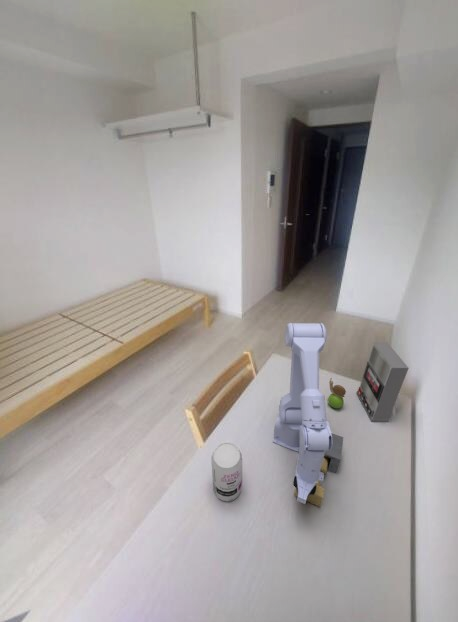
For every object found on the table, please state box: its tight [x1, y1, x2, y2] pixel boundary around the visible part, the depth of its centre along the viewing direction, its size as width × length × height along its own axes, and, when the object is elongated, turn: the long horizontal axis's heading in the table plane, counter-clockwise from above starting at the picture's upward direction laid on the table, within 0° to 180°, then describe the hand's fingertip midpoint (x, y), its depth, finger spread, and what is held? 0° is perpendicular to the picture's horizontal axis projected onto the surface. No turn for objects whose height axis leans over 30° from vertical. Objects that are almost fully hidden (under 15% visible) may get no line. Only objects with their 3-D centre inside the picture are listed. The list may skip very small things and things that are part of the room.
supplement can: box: [210, 442, 243, 502], centre depth 74 cm, size 8×8×15 cm
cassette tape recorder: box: [356, 342, 410, 423], centre depth 96 cm, size 14×6×25 cm, turn 178°
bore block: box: [324, 432, 344, 475], centre depth 84 cm, size 10×8×7 cm
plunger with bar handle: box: [294, 456, 329, 508], centre depth 79 cm, size 7×15×5 cm, turn 155°
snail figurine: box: [327, 377, 347, 409], centre depth 100 cm, size 5×6×12 cm
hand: (303, 490), depth 74 cm, fingers closed on plunger with bar handle, 2 cm apart
